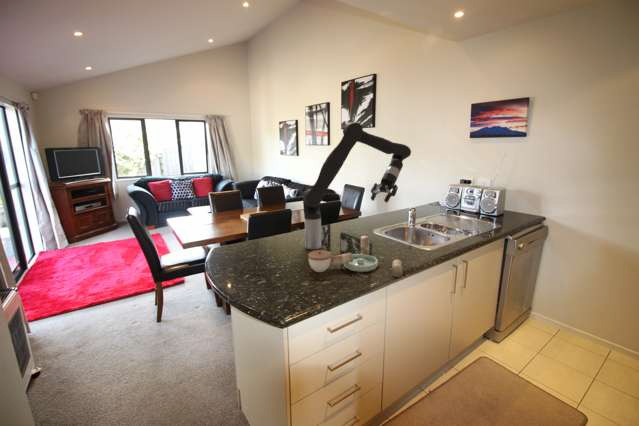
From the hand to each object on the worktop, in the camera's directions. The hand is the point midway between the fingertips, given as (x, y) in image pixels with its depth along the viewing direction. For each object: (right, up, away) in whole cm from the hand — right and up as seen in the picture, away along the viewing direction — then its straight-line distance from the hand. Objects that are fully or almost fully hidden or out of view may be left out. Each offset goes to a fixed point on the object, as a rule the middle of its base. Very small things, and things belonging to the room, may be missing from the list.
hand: (378, 200), depth 161 cm
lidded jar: (-31, -33, -18) cm, 49 cm away
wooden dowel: (+3, -33, -29) cm, 43 cm away
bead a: (-8, -29, -2) cm, 30 cm away
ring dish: (-12, -32, -14) cm, 36 cm away
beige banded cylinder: (-16, -27, -18) cm, 36 cm away
